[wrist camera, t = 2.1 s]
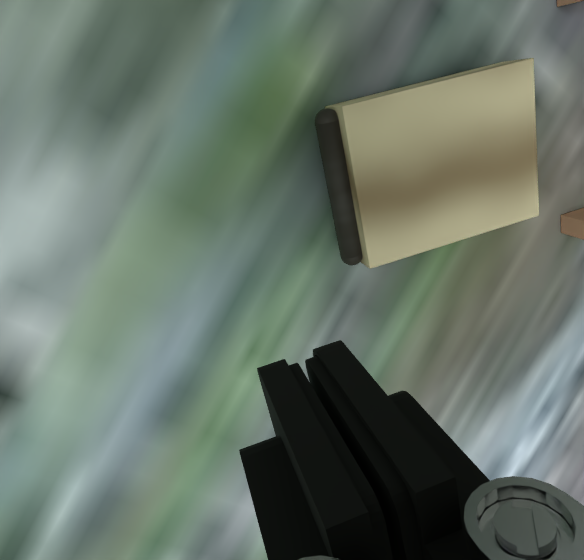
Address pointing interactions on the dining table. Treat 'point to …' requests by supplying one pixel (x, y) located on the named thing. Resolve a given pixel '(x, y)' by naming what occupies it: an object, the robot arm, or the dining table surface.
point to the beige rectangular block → (431, 162)
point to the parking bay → (580, 220)
